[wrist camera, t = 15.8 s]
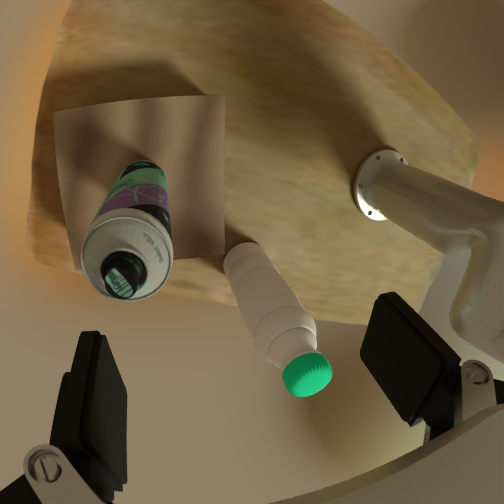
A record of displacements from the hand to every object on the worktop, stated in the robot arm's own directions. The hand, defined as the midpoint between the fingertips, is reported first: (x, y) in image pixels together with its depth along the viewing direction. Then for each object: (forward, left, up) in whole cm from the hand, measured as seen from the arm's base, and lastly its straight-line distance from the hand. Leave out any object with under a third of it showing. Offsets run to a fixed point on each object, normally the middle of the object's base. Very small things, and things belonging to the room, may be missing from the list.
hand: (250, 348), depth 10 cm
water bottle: (-9, +16, -34) cm, 39 cm away
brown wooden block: (+5, +1, -34) cm, 34 cm away
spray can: (+5, +1, -26) cm, 26 cm away
